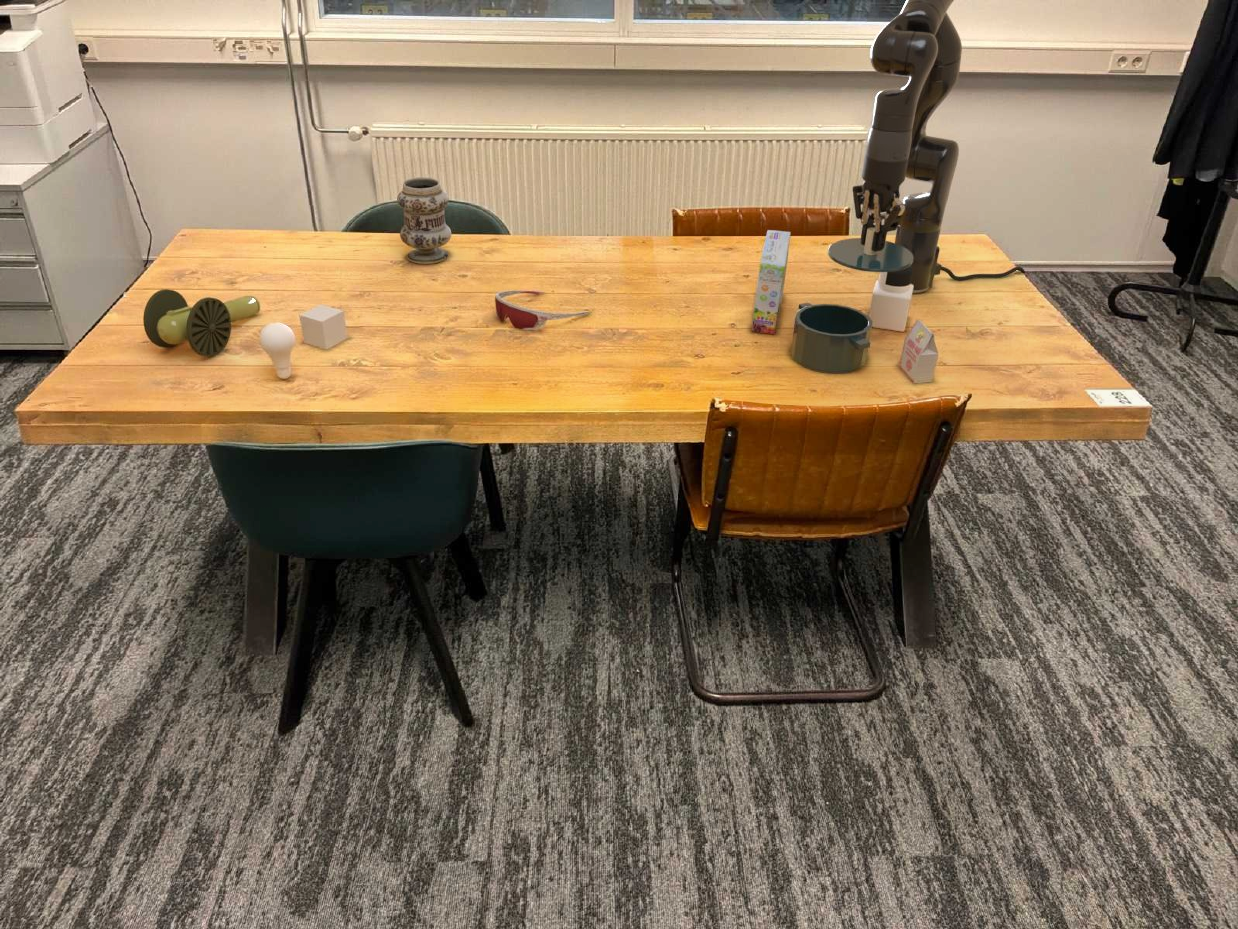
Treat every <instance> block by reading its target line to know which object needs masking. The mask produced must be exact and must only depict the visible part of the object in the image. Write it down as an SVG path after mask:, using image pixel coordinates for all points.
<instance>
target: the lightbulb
mask: <svg viewBox="0 0 1238 929" xmlns="http://www.w3.org/2000/svg"><path fill="white" fill-rule="evenodd" d="M258 340H259V345H260V347H261V349H262V351H264V352H265V354H266V355H267V356H268V358H270V360H271V362H272V366H273V367H274V369H275V373H276V376H277V377H278V378H279V379H283V380H287V379H288V378H289V377H291V375H292V367H291V365H292V360H291V358H292V352H293V350H294V347H295V343H296V336H295V334H294V332H293V330H292V329H291V327H289V326H288V325H286V324H284V323H282V322H271V323H268V324H266V325H265V326H264V327H263V328H262V329H261V331H260V333H259V337H258Z"/></svg>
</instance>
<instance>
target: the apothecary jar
mask: <svg viewBox="0 0 1238 929" xmlns="http://www.w3.org/2000/svg"><path fill="white" fill-rule="evenodd" d="M398 193H399V194H398V195H397V197H396V203H397V205H398V206H399V208H401V209H402V210H403V224H404V225H403V226H402V227H401V229H400V230H399V237H400V240H401V241H402V243H404V245H407V246H408V247H410V248H411V249H414V250H411V251H410V252H408V253H407V256H406V260H408V261H409V262H410V263H414V264H419V265H434V264H439V263H442V262H444V261H446V260H447V258H448V257H449V255H450V254H449V253H448V252H447V251H446V250H444V249H442V248H441V247H443V246H445V245H447V243H448V242H449V241H450V240H451V238H452V230H451V228H450V227H449V226H448V224H446V215H445V208H446V207H447V206H448V204H449V195H448V193H447V192H446V191H445V190H444V189H443V188H442V185H441V182H440V181H439V180H438V179H436V178H433V177H412V178H408V179H406V180H405V181H403V183H402V189H401V191H400V192H398Z"/></svg>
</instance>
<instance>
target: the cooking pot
mask: <svg viewBox="0 0 1238 929" xmlns="http://www.w3.org/2000/svg"><path fill="white" fill-rule="evenodd" d="M797 309H798V311H796V313H795V317H794V323H793V332H792V339H791V346H790V356H791V357H792V359H793V360H794V361H795V363H796V364H798V365H800V366H802V367H803V368H805V369H808V370H811V371H815V372H819V373H824V374H847V373H848V374H849V373H853V372H855V371H858V370H860V369H861V368H863V367H864V366H865V365H866V363H867V357H868V352H869V348H870V347H871V335H872V331H873V330H872V329H873V327H872V320H871V319H870V317H869V314H866V313H864V312H863V311H861V310H859V309H856V308H854V307H851V306H847V305H841V304H837V303H819V304H818V303H817V304H812V303H810V302H804V303H799V304H798V308H797Z"/></svg>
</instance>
